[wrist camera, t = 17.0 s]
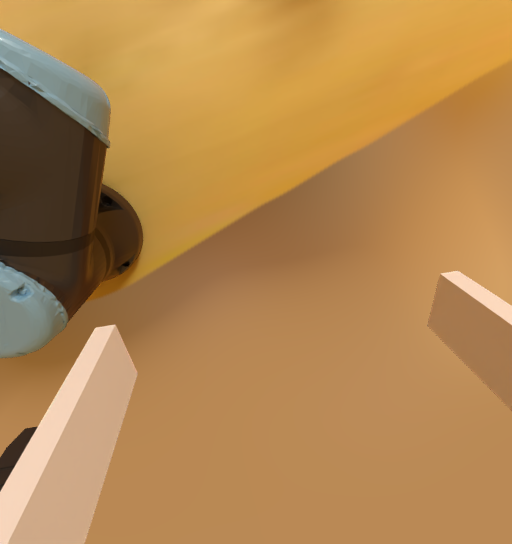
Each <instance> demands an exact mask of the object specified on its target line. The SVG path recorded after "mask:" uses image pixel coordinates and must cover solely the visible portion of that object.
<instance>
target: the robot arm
mask: <svg viewBox="0 0 512 544" xmlns="http://www.w3.org/2000/svg"><path fill="white" fill-rule="evenodd" d="M110 113H111V108H110V102H109V100H108V97H107V95H106V94H105V92H104V91H103V89H102V88H101V87H100V86H99V85H98V84H97V83H95V82H94V81H93V80H91V79H90V78H88V77H87V76H85V75H84V74H82V73H80V72H79V71H77V70H75V69H74V68H72V67H70V66H68V65H67V64H65V63H63V62H61V61H60V60H58V59H56V58H54V57H53V56H51V55H49V54H47V53H45V52H44V51H42V50H40V49H38V48H36V47H34V46H32V45H31V44H29V43H27V42H25V41H23V40H21V39H19V38H17V37H15V36H14V35H12V34H10V33H8V32H6V31H4V30H2V29H0V358H13V357H19V356H24V355H26V354H28V353H32V352H35V351H37V350H39V349H41V348H42V347H44V346H45V345H46V344H47V343H48V342H49V341H51V340H52V339H53V338H54V337H55V336H56V335H57V334H59V333H60V332H61V331H62V330H63V329H64V328H65V327H66V325H67V323H68V321H69V320H70V319H71V318H72V317H73V315H74V314H75V313H76V312H77V311H78V309H79V308H80V307H81V305H83V303H84V302H85V301H86V300H87V299H88V297H89V296H90V295H91V294H92V293H93V291H94V290H95V289H96V288H97V286H98V285H99V284H100V283H101V282H103V281H106V280H109V279H112V278H114V277H116V276H118V275H120V274H122V273H123V272H125V271H126V270H127V269H128V268H129V267H130V266H131V265H132V264H133V262H134V261H135V260H136V258H137V257H138V255H139V253H140V251H141V248H142V242H143V232H142V227H141V223H140V221H139V218H138V216H137V214H136V212H135V211H134V209H133V208H132V206H131V205H130V204H129V203H128V202H127V201H126V200H125V199H124V198H123V197H122V196H121V195H120V194H119V193H117V192H116V191H114V190H113V189H111V188H109V187H108V186H105V185H103V184H102V178H103V171H104V164H105V156H106V149H107V148H110V141H109V139H108V134H109V124H110ZM427 326H428V327H429V328H430V329H431V330H432V331H433V332H434V333H435V334H436V335H437V336H438V337H439V338H440V339H441V340H442V341H443V342H444V343H445V344H446V345H447V346H448V347H449V348H450V349H451V350H452V351H453V352H454V353H455V354H456V355H457V356H458V357H459V358H460V359H461V360H462V361H463V362H464V363H465V364H466V365H467V366H468V367H469V368H470V369H471V370H472V371H473V372H474V373H475V374H476V375H477V376H478V377H479V378H480V379H481V380H482V381H483V382H484V383H485V384H486V385H487V386H488V387H489V389H490V390H492V391H493V393H494V394H495V395H497V397H498V398H499V399H501V401H502V402H503V403H504V404H505V405H506V406H508V407H509V409H510V410H511V411H512V306H511V305H510V304H508V303H506V302H505V301H503V300H502V299H500V298H499V297H497V296H496V295H494V294H493V293H491V292H490V291H488V290H486V289H485V288H483V287H482V286H480V285H479V284H477V283H476V282H474V281H473V280H471V279H470V278H468V277H467V276H465V275H463V274H462V273H460V272H459V271H454V272H448V273H442V274H440V276H439V280H438V284H437V289H436V292H435V296H434V300H433V305H432V308H431V313H430V317H429V321H428V325H427ZM137 374H138V373H137V371H136V369H135V367H134V364H133V362H132V360H131V358H130V355H129V353H128V351H127V349H126V347H125V345H124V342H123V340H122V338H121V336H120V333H119V331H118V329H117V327H116V325H109V326H104V327H96V328H95V329H94V331H93V333H92V334H91V336H90V338H89V339H88V341H87V343H86V345H85V347H84V348H83V350H82V352H81V353H80V355H79V357H78V358H77V360H76V362H75V364H74V365H73V367H72V369H71V371H70V372H69V374H68V376H67V377H66V379H65V381H64V383H63V384H62V386H61V388H60V389H59V391H58V393H57V395H56V396H55V398H54V400H53V402H52V403H51V405H50V407H49V408H48V410H47V412H46V414H45V415H44V417H43V419H42V421H41V422H40V424H39V426H38V427H32V428H27V429H24V431H23V432H22V433H21V434H20V435H19V436H18V437H17V438H16V439H15V440H14V441H13V442H12V443H11V444H10V445H9V446H8V447H7V448H6V450H5V451H4V453H3V454H2V456H1V457H0V544H85V540H86V537H87V534H88V531H89V528H90V524H91V521H92V518H93V515H94V512H95V508H96V505H97V502H98V499H99V495H100V492H101V489H102V486H103V483H104V480H105V477H106V473H107V470H108V467H109V463H110V460H111V457H112V454H113V451H114V448H115V444H116V441H117V438H118V435H119V432H120V429H121V425H122V422H123V419H124V415H125V412H126V409H127V406H128V403H129V399H130V396H131V393H132V390H133V387H134V384H135V381H136V377H137Z"/></svg>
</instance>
